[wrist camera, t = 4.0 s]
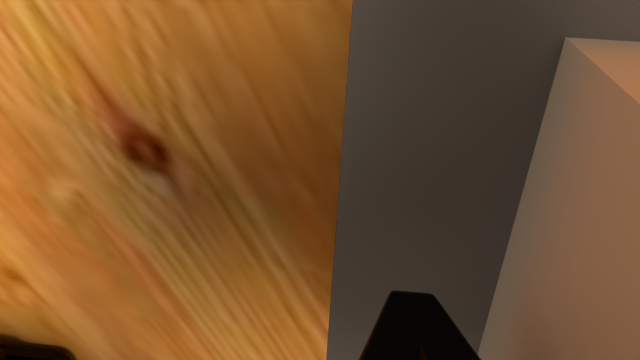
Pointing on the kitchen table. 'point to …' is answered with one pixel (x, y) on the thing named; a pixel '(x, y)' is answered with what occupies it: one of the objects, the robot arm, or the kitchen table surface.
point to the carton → (577, 219)
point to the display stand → (443, 147)
